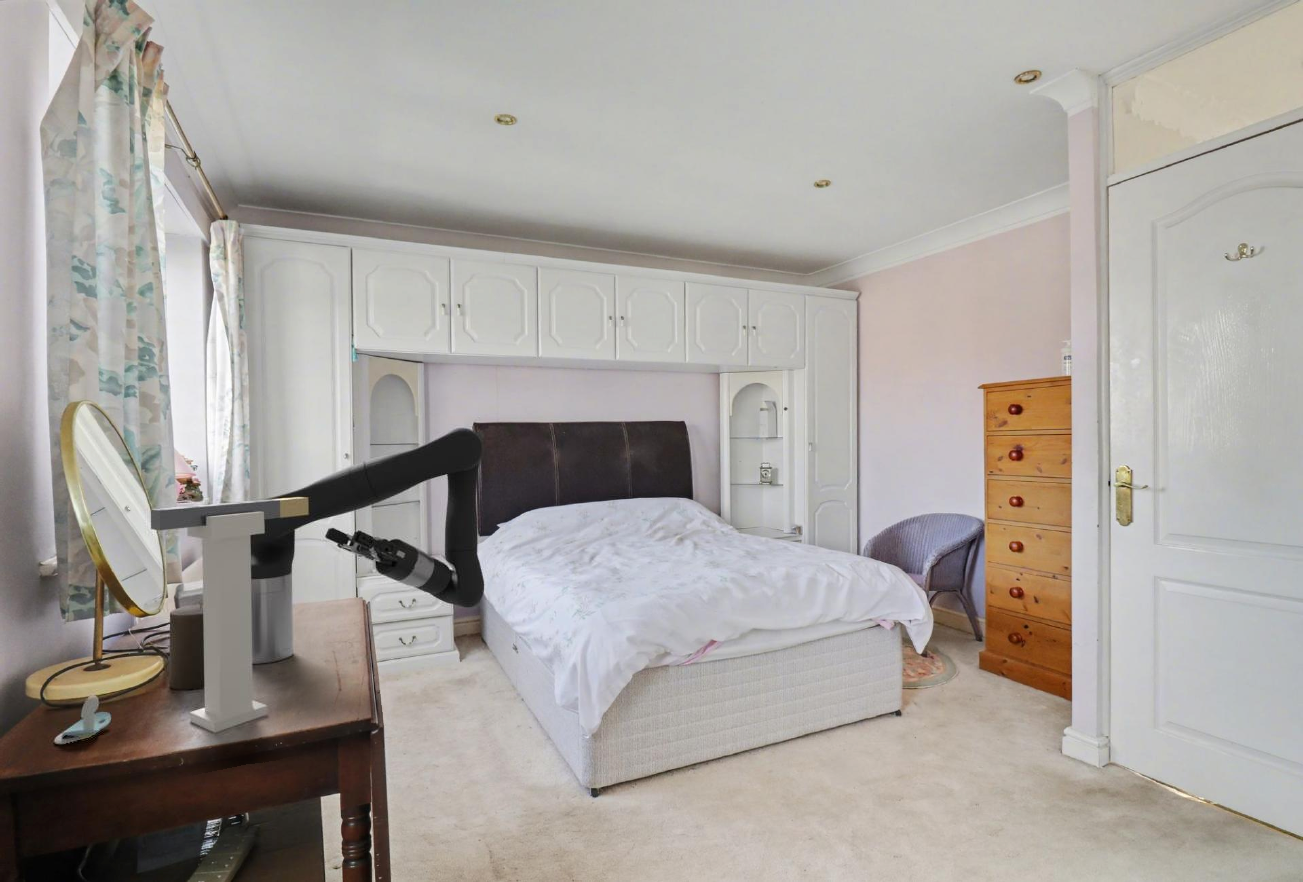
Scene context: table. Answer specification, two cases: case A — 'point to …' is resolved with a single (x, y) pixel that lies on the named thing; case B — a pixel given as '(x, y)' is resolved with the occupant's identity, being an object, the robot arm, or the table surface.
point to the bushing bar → (225, 512)
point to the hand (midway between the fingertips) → (341, 533)
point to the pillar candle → (187, 648)
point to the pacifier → (86, 722)
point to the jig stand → (227, 620)
